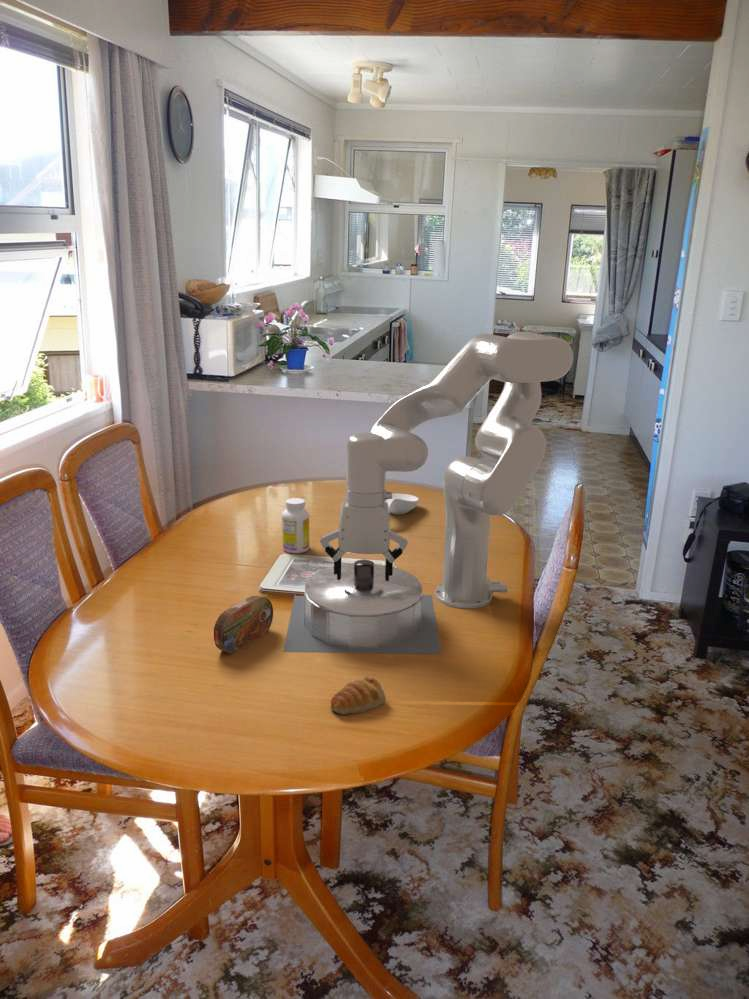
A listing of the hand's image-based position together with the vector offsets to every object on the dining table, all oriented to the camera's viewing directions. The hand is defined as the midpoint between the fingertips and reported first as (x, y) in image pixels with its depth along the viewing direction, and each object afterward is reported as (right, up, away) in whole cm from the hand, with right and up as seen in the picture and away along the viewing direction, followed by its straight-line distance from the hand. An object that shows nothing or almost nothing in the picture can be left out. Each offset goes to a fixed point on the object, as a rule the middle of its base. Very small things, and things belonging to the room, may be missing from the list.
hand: (363, 577), depth 164 cm
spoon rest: (+8, +11, +65) cm, 66 cm away
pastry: (0, -19, -24) cm, 31 cm away
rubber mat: (0, -10, +3) cm, 10 cm away
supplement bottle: (-17, +3, +40) cm, 44 cm away
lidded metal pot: (0, -9, +3) cm, 10 cm away
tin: (-23, -12, -5) cm, 27 cm away
